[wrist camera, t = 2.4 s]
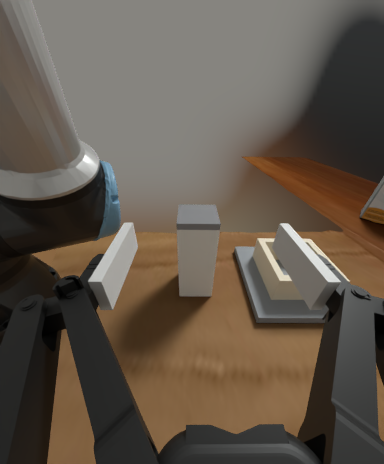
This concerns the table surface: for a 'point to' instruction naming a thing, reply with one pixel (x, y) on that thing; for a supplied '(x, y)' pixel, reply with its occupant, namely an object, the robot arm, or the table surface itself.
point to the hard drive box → (375, 205)
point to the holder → (275, 285)
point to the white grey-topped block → (197, 248)
